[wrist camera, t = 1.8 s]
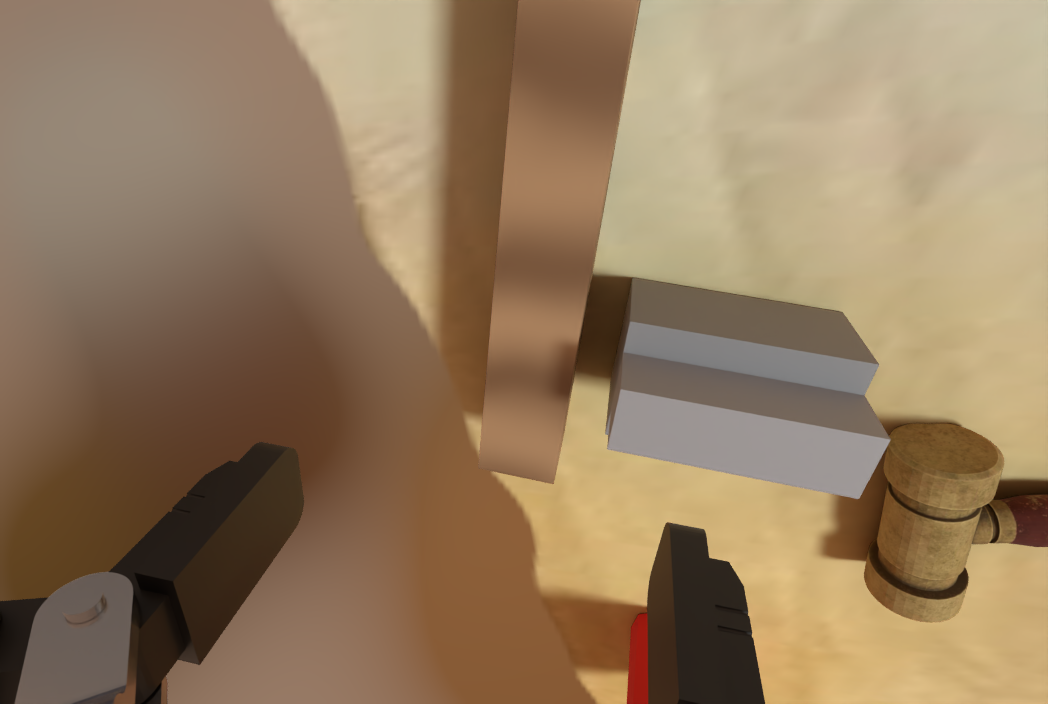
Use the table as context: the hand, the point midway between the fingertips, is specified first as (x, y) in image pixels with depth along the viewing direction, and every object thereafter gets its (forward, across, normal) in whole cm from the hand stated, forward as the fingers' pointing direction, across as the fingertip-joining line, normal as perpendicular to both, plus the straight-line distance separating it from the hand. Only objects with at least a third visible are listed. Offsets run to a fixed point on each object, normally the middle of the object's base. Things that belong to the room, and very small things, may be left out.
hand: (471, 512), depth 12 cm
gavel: (+19, -29, +10) cm, 36 cm away
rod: (+19, 0, -1) cm, 19 cm away
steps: (+18, -8, +4) cm, 21 cm away
